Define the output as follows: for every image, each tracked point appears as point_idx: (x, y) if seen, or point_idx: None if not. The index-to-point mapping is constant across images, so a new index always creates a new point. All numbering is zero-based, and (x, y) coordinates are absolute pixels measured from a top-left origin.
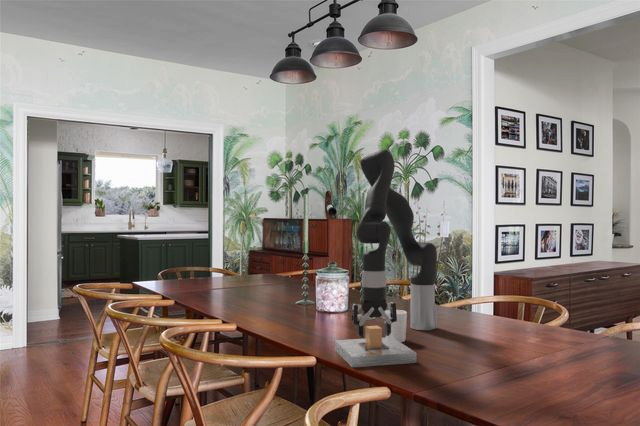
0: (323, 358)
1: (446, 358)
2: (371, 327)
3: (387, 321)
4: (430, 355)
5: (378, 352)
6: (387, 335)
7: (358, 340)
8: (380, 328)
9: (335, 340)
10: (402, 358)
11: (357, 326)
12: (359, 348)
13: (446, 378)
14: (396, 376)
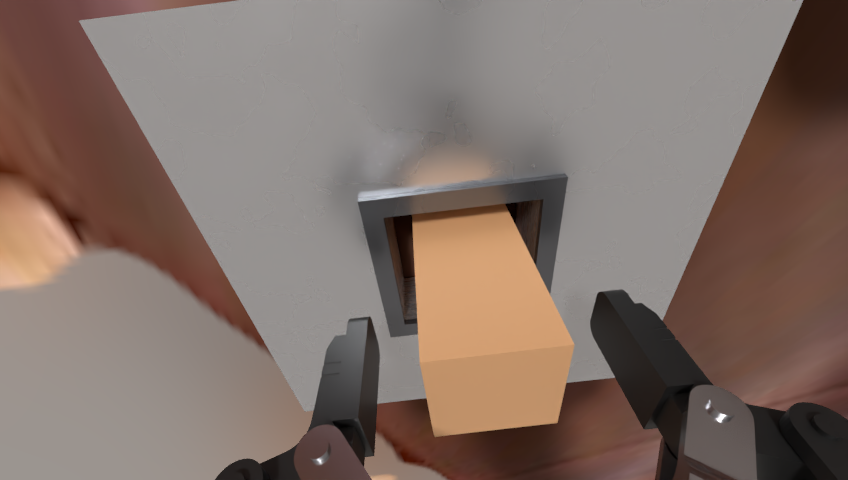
0: (131, 248)
1: (795, 291)
2: (469, 401)
3: (666, 469)
4: (773, 243)
5: None
6: (593, 334)
7: (372, 71)
8: (541, 424)
9: (92, 31)
10: None
11: (313, 418)
12: (354, 303)
13: (600, 438)
14: None
